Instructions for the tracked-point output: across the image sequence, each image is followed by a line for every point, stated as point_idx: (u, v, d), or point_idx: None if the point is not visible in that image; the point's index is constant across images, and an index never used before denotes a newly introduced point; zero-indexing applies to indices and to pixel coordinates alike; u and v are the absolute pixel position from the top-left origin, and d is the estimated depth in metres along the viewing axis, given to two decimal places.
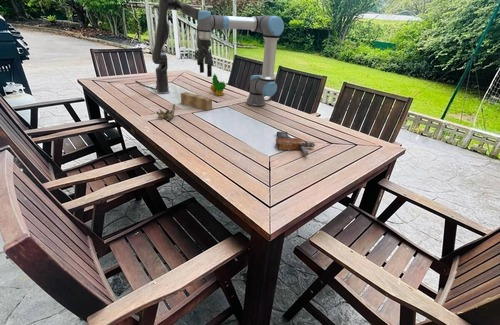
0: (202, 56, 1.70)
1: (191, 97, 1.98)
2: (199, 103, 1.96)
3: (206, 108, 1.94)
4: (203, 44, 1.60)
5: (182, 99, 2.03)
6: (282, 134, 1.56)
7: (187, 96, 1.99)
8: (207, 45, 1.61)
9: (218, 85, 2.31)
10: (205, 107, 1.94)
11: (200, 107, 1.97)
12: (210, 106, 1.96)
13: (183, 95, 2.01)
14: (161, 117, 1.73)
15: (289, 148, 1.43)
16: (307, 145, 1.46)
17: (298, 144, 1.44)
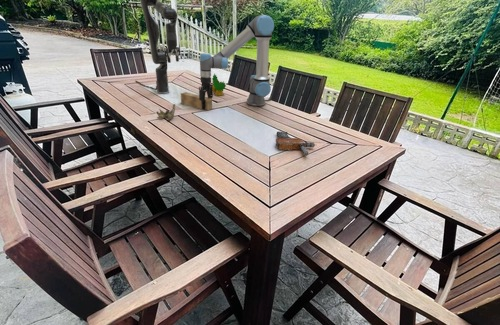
0: None
1: (191, 97, 1.98)
2: (199, 103, 1.96)
3: (206, 108, 1.94)
4: None
5: (182, 99, 2.03)
6: (282, 134, 1.56)
7: (187, 96, 1.99)
8: None
9: (218, 85, 2.31)
10: (205, 107, 1.94)
11: (200, 107, 1.97)
12: (210, 106, 1.96)
13: (183, 95, 2.01)
14: (161, 117, 1.73)
15: (289, 148, 1.43)
16: (307, 145, 1.46)
17: (298, 144, 1.44)
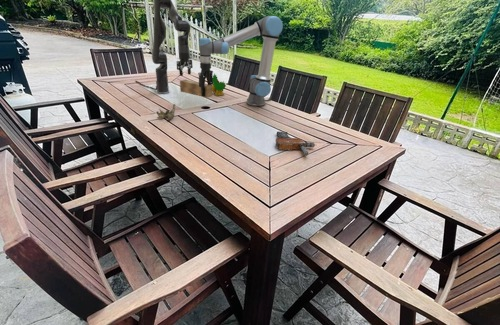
0: None
1: (190, 84, 1.93)
2: (199, 90, 1.91)
3: (205, 95, 1.90)
4: None
5: (181, 86, 1.98)
6: (282, 134, 1.56)
7: (186, 83, 1.95)
8: None
9: (218, 85, 2.31)
10: (205, 94, 1.89)
11: (199, 95, 1.92)
12: (210, 93, 1.92)
13: (182, 82, 1.96)
14: (161, 117, 1.73)
15: (289, 148, 1.43)
16: (307, 145, 1.46)
17: (298, 144, 1.44)
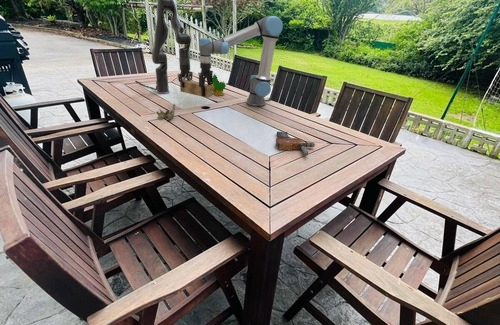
0: None
1: (190, 84, 1.93)
2: (199, 90, 1.91)
3: (205, 95, 1.90)
4: None
5: (181, 86, 1.98)
6: (282, 134, 1.56)
7: (186, 83, 1.95)
8: None
9: (218, 85, 2.31)
10: (205, 94, 1.89)
11: (199, 95, 1.92)
12: (210, 93, 1.92)
13: None
14: (161, 117, 1.73)
15: (289, 148, 1.43)
16: (307, 145, 1.46)
17: (298, 144, 1.44)
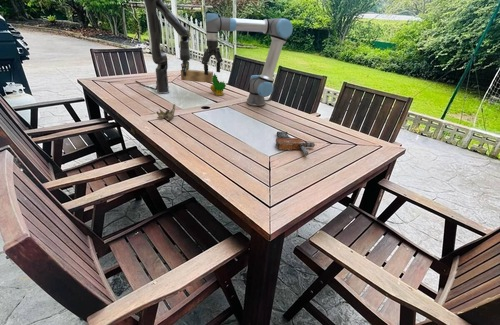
0: None
1: (193, 72, 2.18)
2: (202, 77, 2.19)
3: (209, 80, 2.20)
4: None
5: (182, 75, 2.20)
6: (282, 134, 1.56)
7: (188, 72, 2.18)
8: None
9: (218, 85, 2.31)
10: (209, 79, 2.20)
11: (203, 81, 2.21)
12: (212, 79, 2.23)
13: None
14: (161, 117, 1.73)
15: (289, 148, 1.43)
16: (307, 145, 1.46)
17: (298, 144, 1.44)
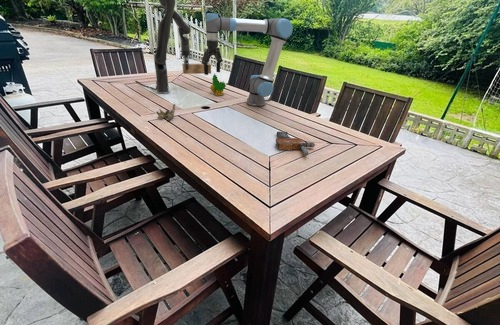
0: None
1: (195, 66, 2.45)
2: (203, 69, 2.49)
3: (209, 71, 2.52)
4: None
5: (185, 69, 2.43)
6: (282, 134, 1.56)
7: (190, 65, 2.43)
8: None
9: (218, 85, 2.31)
10: (209, 70, 2.52)
11: None
12: None
13: None
14: (161, 117, 1.73)
15: (289, 148, 1.43)
16: (307, 145, 1.46)
17: (298, 144, 1.44)
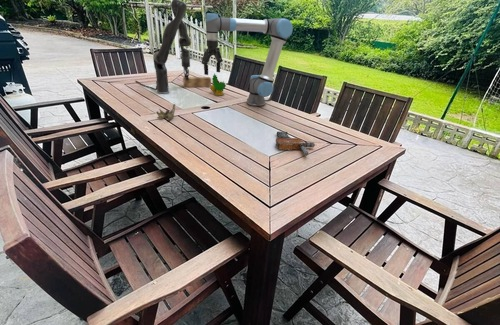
0: None
1: (195, 79, 2.51)
2: (203, 82, 2.55)
3: (209, 84, 2.59)
4: None
5: (185, 83, 2.50)
6: (282, 134, 1.56)
7: (191, 79, 2.50)
8: None
9: (218, 85, 2.31)
10: (209, 84, 2.58)
11: (204, 86, 2.57)
12: None
13: None
14: (161, 117, 1.73)
15: (289, 148, 1.43)
16: (307, 145, 1.46)
17: (298, 144, 1.44)
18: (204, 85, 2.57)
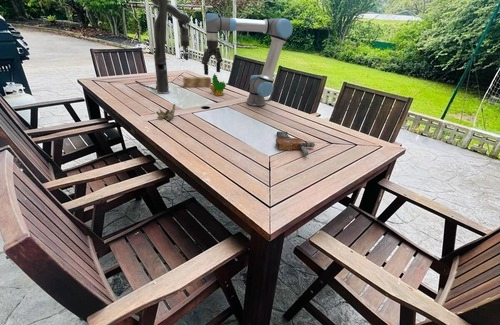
0: None
1: (195, 79, 2.51)
2: (203, 82, 2.55)
3: (209, 84, 2.59)
4: None
5: (185, 83, 2.50)
6: (282, 134, 1.56)
7: (191, 79, 2.50)
8: None
9: (218, 85, 2.31)
10: (209, 84, 2.58)
11: (204, 86, 2.57)
12: None
13: (186, 79, 2.48)
14: (161, 117, 1.73)
15: (289, 148, 1.43)
16: (307, 145, 1.46)
17: (298, 144, 1.44)
18: (204, 85, 2.57)
